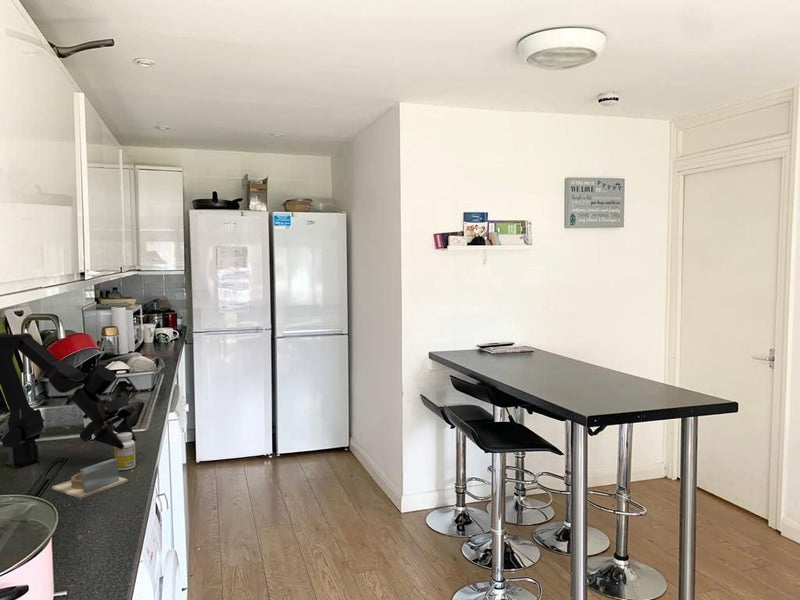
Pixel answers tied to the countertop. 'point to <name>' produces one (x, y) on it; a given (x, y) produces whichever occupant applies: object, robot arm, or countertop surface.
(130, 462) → the supplement bottle
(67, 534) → the countertop surface
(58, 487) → the seat dock
